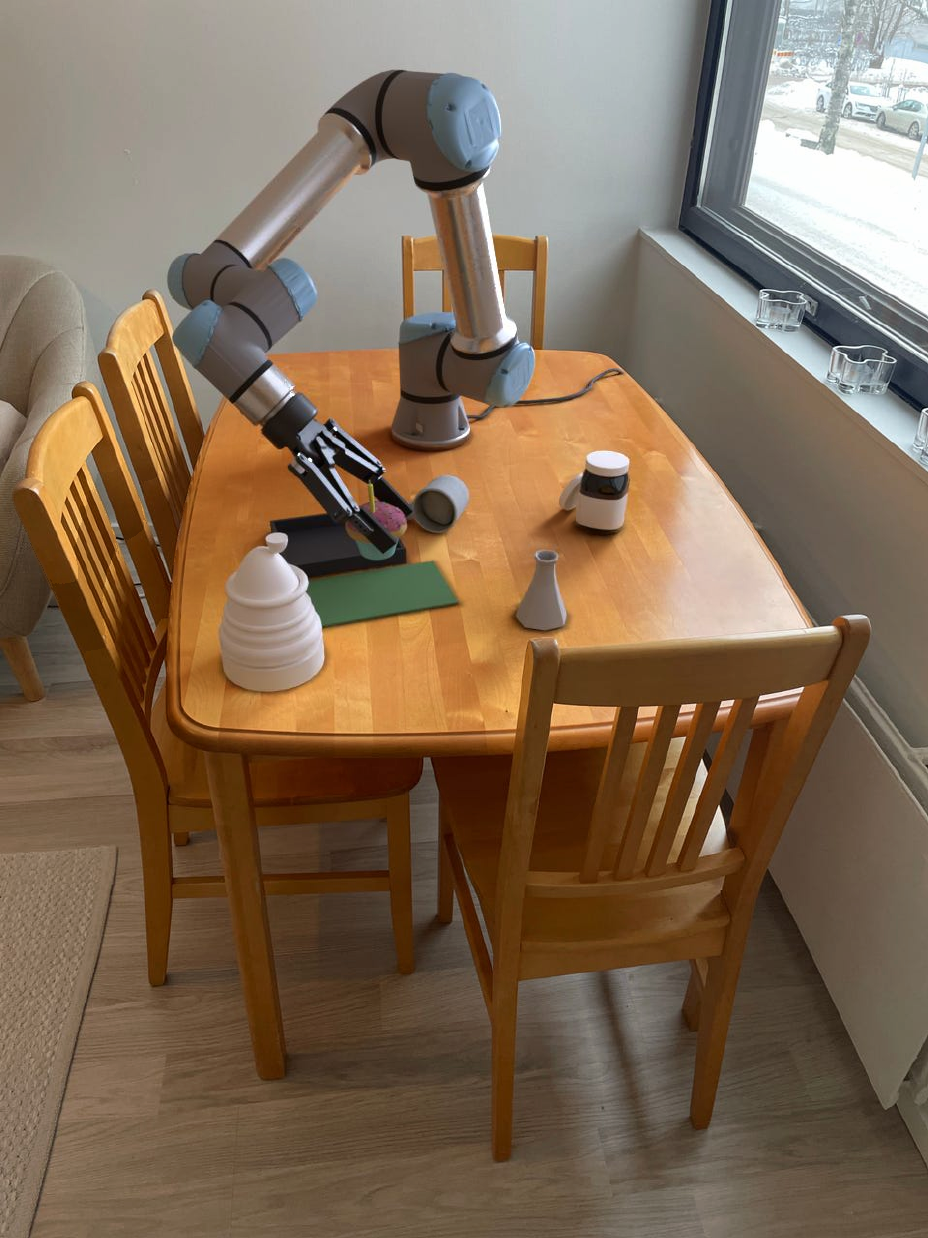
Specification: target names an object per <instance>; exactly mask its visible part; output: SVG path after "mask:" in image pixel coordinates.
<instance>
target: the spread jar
mask: <svg viewBox="0 0 928 1238" xmlns="http://www.w3.org/2000/svg"><path fill="white" fill-rule="evenodd" d="M584 463H585V464H584V467H585V468H583V470H582V472H581V473H579V474H577V475H575V476H574V477H573V478H572V479H571V480H570V481H569V482H568V484H566V486H565V487H564V489H563V490H562V491H561V493H560V496H559V498H558V505H559V506H560V507H561V508H562V509H564V510H565V511H571V510H572V509H575V508H576V514H575V515H576V516H575V517H576V519H575V521H576V525H577V526H578V527H579V528H581V530H583V531H585V532H587V533H590V534H593V535H601V536H603V535H606V536H607V535H612V534H616V533H618V532H619V531H620V530H621V529H622V528H623V525H624V523H625V518H626V513H627V506H628V505H627V504H628V497H629V490H630V482H631V476H630V472H629V468H630V459H629V457H627V456H626V455H624V454H623V453H621V452H617V451H612V450H597V451H596V450H595V451H592V452H590V453H588V454H587V455H586V457H585V462H584Z"/></svg>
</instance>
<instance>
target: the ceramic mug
mask: <svg viewBox="0 0 928 1238" xmlns="http://www.w3.org/2000/svg"><path fill="white" fill-rule="evenodd" d="M469 501H470V492H469V489H468V487H467V485H466V483H465V482H464V481H463V480H462V479H461V478H460V477H458V476H455V475H453V474H442V475H439V476H437V477H435V478H433V479H432V480H431V481H429V482H428V483H427V485H425V486H424V487H423V488H422V489H421V490H420V491H418V492H417V494H416V495H415V496H414V498H413V499H412V501H411V502H408V503H409V504H410V505H411V506H412V507H413V509H414V511H413V512H412V513H411V514H410V515H408V516H407V517H406V519H407V521H409V520H415V522H416V523H417V524H418V525H419V527H421V528H422V529H423V530H426V531H428V532H430V533H433V534H441V533H442V534H443V533H445V532H448V531H449V530H451V529H452V528H453V527H454V526H455V524H456V523H457V521H458V520H459V519H460V517H461V516H462V515H463V513H464V512H465V511H466V509H467V507H468V506H469Z"/></svg>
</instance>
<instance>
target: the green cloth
mask: <svg viewBox="0 0 928 1238" xmlns="http://www.w3.org/2000/svg"><path fill="white" fill-rule="evenodd" d="M308 582H309V584H308V587H307V590H306V593H307V594H308V595H309V597H310V598H311V603H312V605H313V606H314V608H315V611H316V613H317V614H318V615H319V617H320V620H321V625H322V628H328V627H333V626H338V625H339V626H340V625H344V624H345V625H346V624H351V623H357V622H362V621H369V620H374V619H379V618H385V617H392V616H397V615H403V614H409V613H414V612H420V611H426V610H432V609H438V608H439V609H440V608H443V607H445V608H446V607H450V606H456V605H459V600H458V599H457V597H456V596H455V594H454V593H453V590H452V589H451V587H450V586H449V584H448V582H447V581H446V578H444V576H443V574H442V572H441V570H440V569H439V568H438V566H437V564H436V562H435V561H434V560H429V561H421V562H416V563H409V564H403V565H402V564H401V565H396V566H389V567H382V568H377V569H371V570H370V569H369V570H364V571H358V572H351V573H346V574H338V575H332V576H326V577H319V578H314V579H312V578H311V579H308Z"/></svg>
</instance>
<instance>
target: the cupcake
mask: <svg viewBox="0 0 928 1238" xmlns="http://www.w3.org/2000/svg"><path fill="white" fill-rule="evenodd" d="M367 491H368V501H367V502H364V503H362V504H359V505H358V507H359V509H361V508H362V507H363V506H364V507H365V508H366V509H367V510H368V511H369V512H370V513H371V514H372V515H373V516H374V517H375V518H376V519H377V520H378V521H379V522H380V523H381V524H382V525H383V526H384V527H385V528H386V529H387V530H388V531H389V532H390V533H391V534H392V535H393V536H394V537H395V538H396V539H397V540H399V538H400V539H401V537H402V536H404V534H405V533H406V531H407V529H408V524H407V523H408V520H407V519H406V518H405V515H404V514H403V512H402V511H401V510H400V509H399V508H398V507H397V508H396V507H394V506H393V505H390V504H388V503H385V502H380V501H379V500H375V496H374V494H373V485H372V484H371V482H370V480H369V484H367ZM346 530H347V532H348V534H349V536H350V537H351V538H352V539H354V540H355V541H356V543H357V545H358V548H359V550H360V553H361V555H362V556H363V557H365V558H367V559H370V560H384V559H387V558H389V557H391V556H392V555H393V554H394V552H395V548H396V545H397V544H395V545H394V546H393V547H392V548H390V549H389V550H388V551H386V552H385V553H384V554H382V553H381V552H380V551H379V550H378V549H377V548H376V547H375V546H374V545H373V544H372V543H371V542H370V541H369V540H368V539H367V538H366V537H365V536H363V535H362V534H361V533H360V532H359V531H358V530H357V529H356V528H355V527H354V526H353V525H352V524H351V523H350V522H349V521H347V522H346ZM397 543H398V542H397Z"/></svg>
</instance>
